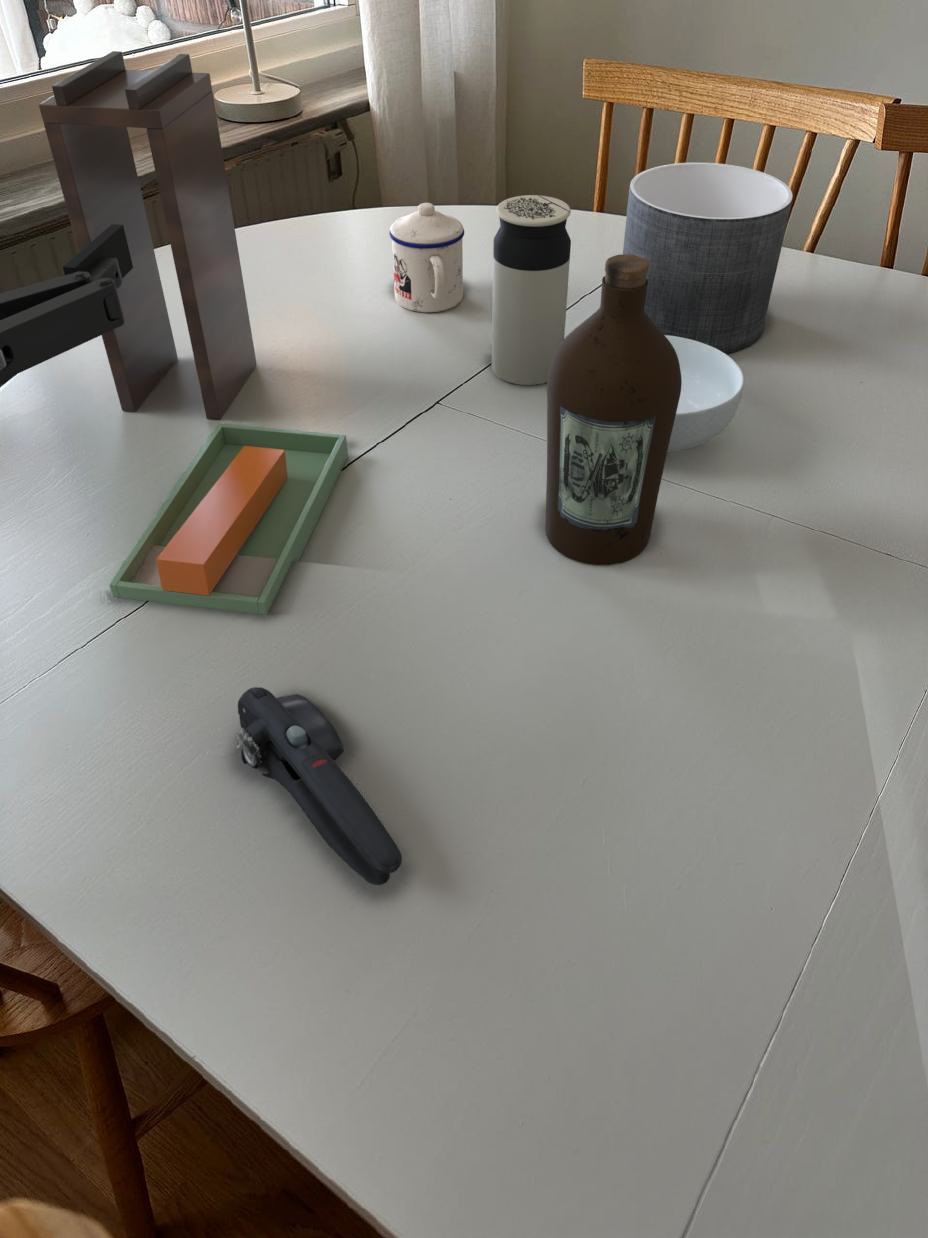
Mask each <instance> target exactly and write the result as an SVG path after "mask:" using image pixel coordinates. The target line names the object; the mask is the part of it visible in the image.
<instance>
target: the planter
mask: <svg viewBox="0 0 928 1238" xmlns="http://www.w3.org/2000/svg"><path fill="white" fill-rule="evenodd" d="M793 194H794V193H793V191H792V189H791V188H790V186H789V185H788V184H786V183H785V182H784V181H782V180H780V179H779V178H777V177H776V176H773V175H770V174H768V173H766V172H763V171H760V170H757V169H753V168H749V167H744V166H739V165H733V164H727V163H726V164H725V163H718V162H717V163H716V162H677V163H670V164H665V165H658V166H655V167H652V168H648V169H646V170H643V171H641V172H639V173H638V174H636V175H635V176H634V177H633V178H632V179H631V181H630V182H629V189H628V198H627V208H626V216H625V217H626V218H625V227H624V237H623V247H622V254H628V255H635V256H639V257H641V258H643V259H645V260H647V261H648V263H649V268H648V274H647V275H646V279H647V280H648V288H647V295H646V301H645V307H644V310H645V312H646V314H647V315H648V317H649V318H650V319H651V320H652V321H653V323H654V324H655V325H656V326H657V327H658V328H659V329H660V331H661V332H662V333H663V334H664V335H669V336H676V337H682V338H686V339H691V340H695V341H698V342H701V343H704V344H706V345H709V346H711V347H714V348H716V349H718V350H720V351H721V352H723V353H725V354H729V353H734V352H738V351H740V350H743V349H745V348H748V347H750V346H751V345H753V344H754V343H756V342H757V341H758V340H759V339H760V338H761V337H762V335H763V333H764V330H765V324H766V318H767V312H768V308H769V304H770V299H771V296H772V292H773V287H774V282H775V278H776V273H777V269H778V264H779V261H780V256H781V251H782V248H783V243H784V239H785V234H786V230H787V226H788V221H789V216H790V213H791V208H792V204H793V199H794V195H793Z"/></svg>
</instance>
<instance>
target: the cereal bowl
mask: <svg viewBox="0 0 928 1238" xmlns="http://www.w3.org/2000/svg"><path fill="white" fill-rule="evenodd" d="M665 336H666V338H667V339H668V340H669V341H670V343H671V344H672V346H673V348H674V349H675V351H676V354H677V356H678V360H679V364H680V370H681V379H682V385H681V394H680V399H679V403H678V407H677V412H676V416H675V420H674V425H673V429H672V433H671V438H670V442H669V447H668V451H667V453H671V452H677V451H685V450H689V449H692V448H694V447H698V446H700V445H702V444H704V443H707V442H709V441H710V440H711V439H713V438H715V437H716V436H718V435H719V434H720V433H721V432H723V431H724V430H725V428H727V427H728V426H729V424H730V423H731V422H732V420H733V418H734V417H735V415H736V412H737V411H738V408H739V405H740V403H741V398H742V396H743V391H744V387H745V377H744V373H743V371H742V369H741V367H740V365H738V363H737V362H736V361H735V360H734V359H733V358H731V356H730V355H728V354H727V353H723V352H721V351H720V350H718V349H716V348H714V347H711V346H709V345H706V344H704V343H701V342H698V341H695V340H691V339H686V338H682V337H676V336H669V335H665Z"/></svg>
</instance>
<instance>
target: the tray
mask: <svg viewBox="0 0 928 1238" xmlns="http://www.w3.org/2000/svg"><path fill="white" fill-rule="evenodd" d="M244 446H251V447H261V448H271V449H282V450H285V457H286V466H287V476H288V478H287V479H286V481H285V482H284V484H283V485H282V487H281V488H280V490H279V491H278V493H277V494H276V496H275V497H274V499H273V500H272V502H271V503H270V505H269V506H268V508H267V509H266V511H265V512H264V514H263V515H262V517H261V518H260V520H259V521H258V523H257V524H256V526H255V527H254V529H253V530H252V532H251V533H250V535H249V536H248V538H247V539H246V541H245V542H244V544H243V545H242V547H241V548H240V550H239V551H238V553H237V554H236V556H237V555H238V556H245V557H246V556H247V557H253V558H264V559H272V560H277V562H276V563H275V566H274V568H273V570H272V572H271V574H270V576H269V577H268V579H267V581H266V584H265V586H264V588H263V590H262V592H261V594H260V596H250V595H242V594H234V593H224V592H218V591H217V592H216V591H212V592H211V593H210V595H200V594H192V593H183V592H175V591H166V590H162V586H161V585H156V584H146V583H140V582H139V583H137V582H131V581H132V580H133V579H134V576H135V575H136V573H137V572H138V570H139V569H140V567H141V566H142V564H143V563H144V562H145V560H146V558H147V557H148V555H149V554H150V553H151V550H152V549H153V547H154V546H155V547H164V548H165V547H166V546H167V545H168V543H169V542H170V541H171V539H172V538H173V537H174V536H175V534H176V533H177V532H178V531H179V529H180V528H181V527H182V525H183V524H184V523H185V522H186V520H187V519H188V518H189V516H190V515H191V514H192V513H193V511H194V510H195V509H196V508H197V506H198V505H199V504H200V502H201V501H202V500H203V499H204V497H205V496H206V495H207V493H208V492H209V491H210V490H211V488H212V487H213V486H214V485H215V483H216V482H217V481H218V479H219V478H220V477H221V476H222V474H223V473H224V472H225V470H226V469H227V468H228V467H229V465H230V464H231V463H232V462H233V460H234V459H235V458H236V456H237V455H238V454H239V453H240V451H241V450H242V449H243V447H244ZM348 451H349V450H348V441H347V434H338V433H331V432H330V433H329V432H318V431H309V430H308V431H307V430H298V429H297V430H296V429H287V428H286V429H285V428H274V427H264V426H253V425H243V424H242V425H241V424H232V423H231V424H230V423H223V422H222V423H220V422H218V423H217V424H216V426H215V427H214V429H213V430H212V432H211V433H210V435H209V436H208V438H207V440H206V441H205V443H204V444H203V445H202V446H201V448H200V450H199V451H198V452H197V454H196V456H195V457H194V459H192V462H191V463H190V464H189V466H188V468H187V469H186V470H185V472H184V473H183V475H182V476H181V478H180V479H179V481H178V482H177V484H176V485H175V487H174V488H173V489H172V491H171V492H170V494H169V495H168V497H167V498H166V500H165V501H164V503H163V504H162V506H161V507H160V509H159V510H158V512H157V513H156V515H155V516H154V517H153V519H152V521H151V522H150V523H149V525H148V527H147V528H146V530H145V531H144V533H143V534H142V535H141V537H140V539H139V540H137V543H136V544H135V545H134V547H133V548H132V550H131V552H130V553H129V555H128V556H127V558H126V559H125V560H124V562H123V563H122V565H121V566H120V568H119V570H118V571H117V573H116V574H115V575H114V577H113V578H112V580H110V583H109V588H110V592H111V595H112V597H113V598H121V599H127V600H128V599H129V600H136V601H144V602H145V601H146V602H154V603H161V604H162V603H163V604H171V605H178V606H179V605H180V606H186V607H187V606H189V607H194V608H195V607H196V608H204V609H215V610H221V611H230V612H239V613H247V614H254V615H255V614H256V615H265V616H266V615H268V613H269V612H270V611H269V610H270V609H271V606H272V604H273V603H274V600H275V598H276V596H277V594H278V592H279V590H280V588H281V586H282V583H283V581H284V580H285V577H286V576H287V573H288V571H289V569H290V567H291V565H292V562H299V561H300V559H301V557H302V555H303V553H304V551H305V548H306V547H307V544H308V543H309V540H310V538H311V536H312V533H313V532H314V530H315V527H316V525H317V523H318V521H319V520H320V517H321V514H322V512H323V510H324V509H325V506H326V504H327V501H328V500H329V498H330V496H331V494H332V492H333V489H334V487H335V485H336V483H337V481H338V479H339V476H340V474H341V472H342V470H343V468H344V467H345V464H346V462H347V459H348V458H349V452H348Z"/></svg>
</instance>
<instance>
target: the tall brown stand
mask: <svg viewBox="0 0 928 1238" xmlns="http://www.w3.org/2000/svg"><path fill="white" fill-rule="evenodd" d="M212 87H213V86H212V80H211V74H210V73H209V72H193V68H192V62H191V57H190V54H188V53H179V54H177V55H176V56H174V57H172V58H171V59H169V60H167V61H166V62H165V63H163V64H162V65H160V66H158V67H157V68H155V69H153V70H144V69H127V67H126V63H125V58H124V54H123V51H119V50H118V51H117V50H112V51H111V52H108V53H107V54H105V55H104V56H102V57H100V58H98V59H97V60H95V61H93V62H91V63H89V64H88V65H86V66H85V67H83V68H81V69H80V70H77V71H76V72H74V73H72V74H70V75H68V76H67V77H65V78H63V79H61V80H60V81H58V82H56V83H55V84H53V85H51V90H52V93H53V95H52V96H50V97H49V98H47V99H45V100H44V101H42V102H41V103H38V108H39V111H40V116H41V119H42V122H43V126H44V130H45V134H46V137H47V141H48V145H49V149H50V152H51V155H52V160H53V164H54V167H55V171H56V174H57V178H58V181H59V184H60V189H61V193H62V196H63V200H64V203H65V206H66V207H65V208H66V211H67V213H68V217H69V222H70V225H71V229H72V233H73V236H74V240H75V243H76V247H77V251H78V253H79V252H80V251H82V250H83V249H84V248H85V247H86V246H87V245H88V244H90V243H91V242H92V241H93V240H94V239H95V238H96V237H98V236H99V235H100V234H101V233H102V232H103V231H105V230H106V229H107V228H108V227H109V226H110V225H111V224H117V225H123V226H124V230H125V234H126V239H127V243H128V247H129V251H130V255H131V260H132V264H133V269H132V270H131V271H130V272H129V273H127V274H126V275H125V276H124V277H123V278H122V285H121V286H120V287H119V288H118V289H117V292H118V296H119V300H120V304H121V308H122V312H123V316H124V320H125V323H124V325H122V326H120V327H118V328H116V329H114V330H111V331H109V332H107V333H105V334H103V335H101V339H102V342H103V345H104V350H105V353H106V356H107V360H108V364H109V368H110V371H111V375H112V378H113V383H114V386H115V390H116V392H117V393H116V394H117V397H118V401H119V404H120V408H121V411H122V412H129V413H130V412H131V413H135V412H136V411H137V410H138V409H139V408H140V407H141V405H143V403H144V401H146V399H147V398H148V397H149V396H150V394H151V393H152V392H153V391H154V389H156V387H157V385H158V384H159V383H160V382H161V381H162V379H163V378H164V377H165V376H166V374H167V373H168V372H169V371H170V369H171V368H172V367H173V366H174V365H175V363H176V362H177V361H178V359H179V357H178V353H177V347H176V343H175V339H174V335H173V330H172V326H171V321H170V316H169V311H168V308H167V302H166V298H165V293H164V289H163V285H162V280H161V276H160V271H159V267H158V266H159V265H158V262H157V257H156V252H155V248H154V244H153V239H152V235H151V230H150V226H149V221H148V216H147V211H146V208H145V203H144V199H143V193H142V189H141V185H140V180H139V176H138V171H137V167H136V162H135V158H134V153H133V149H132V144H131V139H130V136H129V135H130V134H129V131H128V128H131V129H133V128H134V129H146V133H147V138H148V143H149V147H150V153H151V158H152V162H153V163H152V164H153V167H154V172H155V177H156V181H157V186H158V192H159V197H160V202H161V206H162V210H163V215H164V216H163V217H164V220H165V225H166V230H167V234H168V239H169V243H170V244H169V245H170V248H171V253H172V259H173V264H174V268H175V273H176V277H177V283H178V288H179V292H180V297H181V302H182V306H183V311H184V312H183V313H184V316H185V321H186V327H187V332H188V336H189V341H190V344H191V350H192V354H193V359H194V365H195V369H196V374H197V379H198V383H199V388H200V393H201V397H202V398H201V399H202V402H203V403H202V404H203V407H204V412H205V416H206V419H207V420H215V421H217V420H218V421H220V420H222V417H224V414H225V413H226V412H227V410H228V409H229V407H230V406H231V404H232V403H233V402H234V400H235V398H236V397H237V396H238V394H239V392H240V391H241V390H242V388H243V387H244V385H245V384H246V382H247V381H248V379H249V378H250V376H251V375H252V373H253V372H254V371H255V369H256V367H257V366H258V364H257V357H256V353H255V346H254V340H253V333H252V327H251V321H250V314H249V309H248V303H247V295H246V290H245V283H244V278H243V277H244V276H243V271H242V266H241V260H240V259H241V258H240V254H239V246H238V240H237V235H236V229H235V222H234V215H233V210H232V202H231V197H230V191H229V185H228V178H227V173H226V165H225V160H224V159H225V158H224V155H223V153H224V152H223V146H222V141H221V134H220V130H219V123H218V117H217V110H216V104H215V98H214V93H213V88H212Z"/></svg>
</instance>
